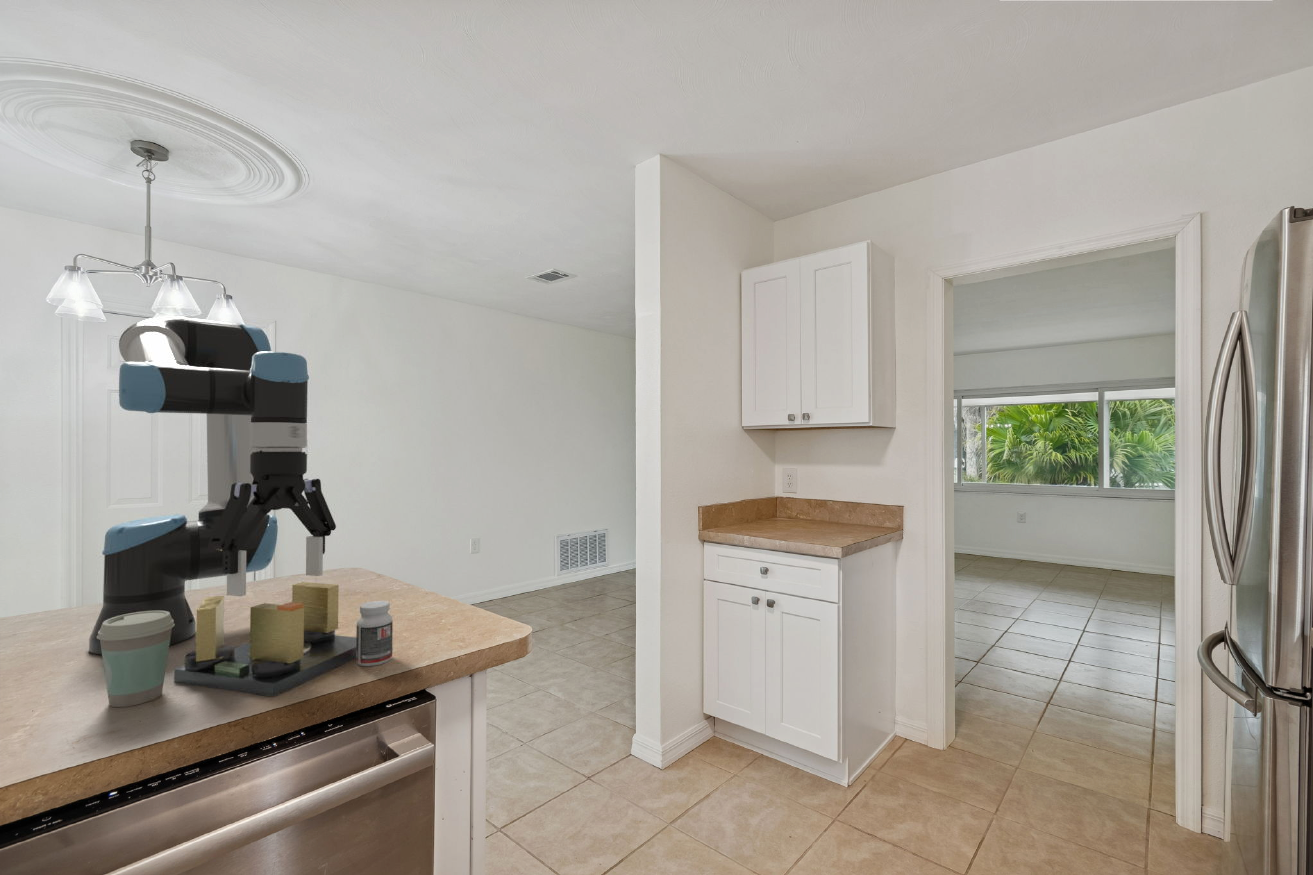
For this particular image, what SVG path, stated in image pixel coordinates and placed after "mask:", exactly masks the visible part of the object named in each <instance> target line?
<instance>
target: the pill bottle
mask: <svg viewBox="0 0 1313 875" xmlns="http://www.w3.org/2000/svg"><path fill="white" fill-rule="evenodd" d="M390 606H391V605H390V601H387V600H372V601H367V602H363V603H361V604H360V605H359V613H360V615H361V616H360V617H359V618H358V619H357V621H356V626H355V627H356V633H355V634H356V635H355V636H356V637H355V638H356V658H355V660H356V664H358V665H359V666H361V667H374V666H379V665H383V664H386V663H388V662H390V661H391V659H392V658H393V640H394V638H393V635H394V634H393V631H394V630H393V628H394V627H393V623H394V622H393V616H392V615H391V614H389V611H390Z"/></svg>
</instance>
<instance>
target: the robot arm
mask: <svg viewBox="0 0 1313 875" xmlns="http://www.w3.org/2000/svg"><path fill="white" fill-rule="evenodd" d="M118 347H119V348H118V349H119V354H120V355H121V358H122V359H123V360H124V361H125V362H123V363H121V365H120V366H119V374H118V376H119V377H118V400H119V402H118V403H119V407H121V408H122V409H123V410H125V411H130V412H143V413H144V412H146V413H147V414H155V413H164V414H165V413H167V414H168V413H169V414H203V415H204V414H206V454H207V456H206V457H207V458H206V459H207V460H206V462H207V466H206V467H207V471H206V472H207V504H205V506H203V507H202V508H201V509H199V511H198V520H190V521H188V518H187V517H186V515H184V514H179V513H178V514H177V513H176V514H169V515H158V516H152V517H145V518H140V519H134V520H129V521H126V522H122V523H118V524H116V525H114V526H112V527H110V528H109V529H108V530H107V531H106V532H105V536H104V543H103V544H104V545H103V550H102V556H104V557H103V558H104V559H103V585H102V586H103V588H102V592H103V594H102V596H103V597H102V598H103V599H102V607H101V610H100V613H99V614H98V617H97V619H96V622H95V625H94V627H93V629H92V632H91V634H90V636H89V639H88V650H89V652H90V653H92V654H96V655H102V651H101V643H100V640H99V639H97V636H98V631H99V630H100V629H101V626H102V623H103V622H104V621H106V620H108V619H110V618H113V617H116V616H120V615H125V614H130V613H136V612H143V611H168V612H170V615H171V618H172V619H173V620H174V622H173V623H174V624H175V625H174V627H172V631H171V638H170V644H169V646H171V645H174V644H177V643H178V644H179V643H181V642H183V641H186V640H188V639H189V638H192V637H193V636H194V635H196V629H197V621H196V619H195V617H194V614H193V612H192V610H191V607H190V604H189V602H188V599H187V598H186V592H185V589H186V586H185V585H186V581H193V580H202V579H208V578H217V577H223V576H224V577H225V576H226V596H232V597H244V596H246V595H247V573H252V572H259V571H262V570H265V569H266V568H267V567H269V565H270V563H271V562H272V560H273V558H274V555H275V551H276V547H277V540H278V531H279V530H278V528H279V526H278V518H277V517H276V516H275V515H273V514H269V513H270V512H271V511H279V510H282V509H289V510H291V511H292V513H293V514H294V515H295V516H296V518H297V519H298V520H299V521H300V522H301V524H302V525H303V526H304V527H305V528H306V530H307V531H308V532H309V533H310V536H306V537H305V543H306V545H305V548H306V551H305V575H306V576H313V577H320V576H323V571H324V570H323V566H324V565H323V560H324V559H323V558H324V556H323V555H325V552H326V537H329V536H331V534H332V531H335V530H336V528H337V525H336V523H335V521H334V517H333V515H332V513H331V511H330V508H329V506H328V503H327V501H326V499H325V496H324V494H323V492H322V483H321V479H320V478H304V475H306V474H307V472H308V471H307V470H308V454H307V453H306V451H303V449H306V448H308V422H307V421H308V420H307V419H308V386H309V385H308V382H309V380H310V377H309V374H308V362H307V358H305V357H304V356H303V355H300V354H296V353H291V352H283V351H272V349H271V348H272V347H271V344H270V340H269V338H268V336H267V334H266V333H265V331H264V330H263V329H261V328H259V327H258V326H253V325H247V324H243V323H240V322H236V323H232V322H226V321H225V322H224V321H216V320H208V319H202V318H201V319H200V318H191V317H185V316H177V315H175V316H174V315H171V316H170V315H168V316H158V317H151V318H148V319H144V320H141V321H139V322H136V323H134V324H131V325H130V326H129V327H127V328H126V329H125V330H124V331H123V332H122V334H121V335H120V337H119V343H118ZM303 492H304V495H303Z"/></svg>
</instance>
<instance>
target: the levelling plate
mask: <svg viewBox="0 0 1313 875" xmlns="http://www.w3.org/2000/svg"><path fill="white" fill-rule="evenodd" d="M234 647H235V646H234ZM253 660H254V658H250V641H249V642H247V643H244V644H241V645H237V646H236V647H235V661H234V662H228V661H224V662H221V663H218V664H216V665H215V670H210V671H204V672H188V671H186V670H185V664H184V665H182V666H179V667H176V668H174V674H173V676H174V678H173V682H175V683H181V684H189V685H194V686H200V687H206V688H214V689H221V690H226V691H232V692H238V693H243V694H251V695H257V696H263V697H265V696H266V697H271V698H275V697H277V696H279V695H282V694H283V693H285V692H287V691H290V690H291V689H294V688H295V687H297V686H300V685H302V684H304V683H306V682H309V681H310V680H313V679H314V678H315V679H316V678H317V677H319V676H322V675H323V674H326V673H328V672H331V671H332V670H334V669H337V668H338V667H340V666H342V665H344V664H347V663H349V662H351V661H352V660H356V637H355V636H354V637H353V636H346V635H337V634H335V638H334V639H333V640H331V641H329V642H326V643H322V644H318V645H311V643H309V642H304V650H303V658H302V659H300V668H299V669H298V670H297V671H295V672H293V673H291V674H288V675H285V676H281V677H276V678H269V679H258V678H254V677H252V661H253Z"/></svg>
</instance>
